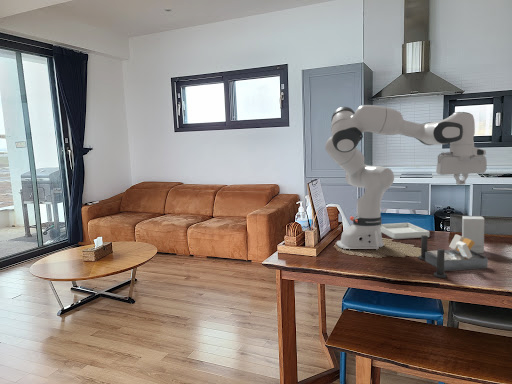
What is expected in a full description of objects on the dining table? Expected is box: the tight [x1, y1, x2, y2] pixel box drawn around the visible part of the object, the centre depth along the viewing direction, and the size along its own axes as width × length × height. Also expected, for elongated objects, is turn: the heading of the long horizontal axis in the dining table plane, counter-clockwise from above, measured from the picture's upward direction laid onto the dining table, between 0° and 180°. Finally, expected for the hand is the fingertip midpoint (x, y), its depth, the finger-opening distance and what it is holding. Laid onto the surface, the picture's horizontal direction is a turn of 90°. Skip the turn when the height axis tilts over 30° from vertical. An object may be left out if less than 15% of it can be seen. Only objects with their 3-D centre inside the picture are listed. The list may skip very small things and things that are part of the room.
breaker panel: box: [424, 249, 489, 272], centre depth 148 cm, size 18×13×5 cm
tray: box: [381, 222, 430, 240], centre depth 201 cm, size 19×22×3 cm
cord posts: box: [417, 235, 448, 279], centre depth 146 cm, size 4×25×10 cm, turn 171°
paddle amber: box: [457, 238, 475, 252], centre depth 148 cm, size 2×4×6 cm
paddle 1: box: [448, 234, 465, 251], centre depth 153 cm, size 2×4×6 cm, turn 5°
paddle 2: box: [456, 241, 472, 259], centre depth 142 cm, size 2×4×6 cm, turn 5°
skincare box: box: [461, 215, 485, 254], centre depth 164 cm, size 8×7×16 cm
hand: (460, 184), depth 155 cm, fingers closed
